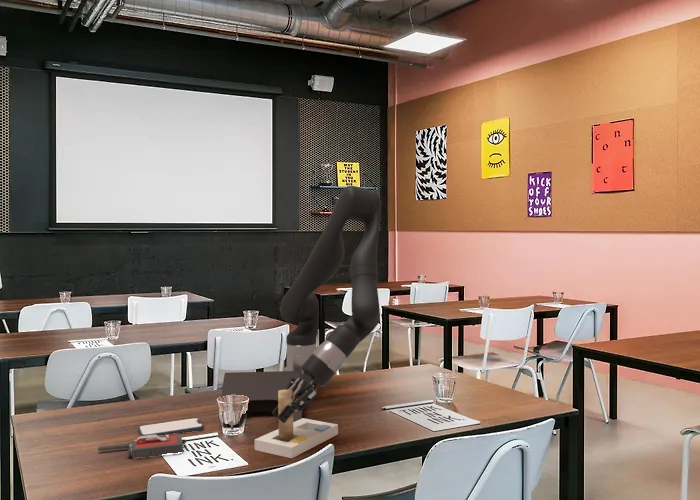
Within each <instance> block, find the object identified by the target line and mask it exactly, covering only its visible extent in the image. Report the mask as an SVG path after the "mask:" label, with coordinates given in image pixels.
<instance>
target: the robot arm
mask: <svg viewBox="0 0 700 500" xmlns="http://www.w3.org/2000/svg"><path fill="white" fill-rule="evenodd" d="M381 215H382V201H381V196H380V195H379V193H378V192H376V191H375V190H371V189H367V188H364V187H358V186H356V185H355V186H354V185H347V186H346V187H345V188H343V190H342V191H341V193H340V194H339V196H338V198H337V200H336V203H335V205H334V207H333V210H332V212H331V215H330V216H329V218H328V221H327V223H326V225H325V227H324V230H323V231H322V233H321V235H320V237H319V238H318V240H317V242H316V244H314V246H313V249H312V250H311V251H310V252H311V253H310V254H309V256H308V258H307V260H306V262H305V264H304V265H303V267H302V269H301V271H300V273H299V274H298V276H297V277H296V279H295V280H294V282H293V283H292V284H291V286H290V287H289V288H288V289H287V292H286V293H285V294H284V296H283V297H282V300H281V303H280V307H279V311H280V312H279V313H280V316H281V318H282V319H283V320H284V321H285V322H287V323H294V324H295V323H298V325H297V326H296V328H295V329H294V330H292V331H291V332H289V333H287V335H286V366H285V367H284V369H283V371H302V375H301V376H300V377H299V378H298V379H295V378H294V377H293V378H291V380H290V381H289V383H288V385H287V386H286V388H285V389H284V390H292V391H293V395H292V396H293V398H292V399H291V401H290V402H289V404H288V405H289V406H288V405H287V406H286V407H285V408H284V409H283V410H282V412H281V413H280V414H279V415H278V406H277V407H276V408H275V409H274V410H273V412H272V411H271V414H272V416H274V417H275V418H277V419H278V421H279V420H280V421H281V422H283V423H285V422H286V421H287V420H288V418H289V417H290V416H291V415H292V414H293V412H294V411H295V412H296V411H297V410H299V411H301V410H302V411H303V410H304V409H305V408H306V407H308V406H309V404H311V403H312V402H313V401H315V400H316V398H318V396H319V394H318V393H317V389H318V386H320V387H322V388H324V387H326V386H327V384H328V383H329V382H330V381H331V379H333V377H334V376H335V375H336V373H338V371H339V370H340V368H341V367H342V366H343V365H344V363H345V361H346V360H347V358H348V357H350V355H351V353H353V351H354V350H355V349H356V348H357V346H358V345H359V344H360V343H361V342H362V341H363V340H364V339H365V338H367V337H368V336H369V335H371V333H372V332H373V331H374V330H375V328H376V327H377V326H378V324H379V322H380V321H381V320H380V319H381V309H380V301H379V292H378V287H379V278H378V277H379V275H378V274H379V273H378V247H379V246H378V244H379V235H380V226H381V225H380V224H381ZM349 220H350V221H355V222H360V223H363V227H364V233H363V236H362V239H361V240H360V242H359V244H358V245H357V247H356V249H355V250H354V252H353V253H352V256H351V261H350V281H351V282H350V284H351V315H350V316H349V318H348V319H346V321H344V323H343V324H339V325H337V326H336V327H335V328H334V329H333V330H332V331H331V333H330V334H329V335H328V336H327V337H326V338H325V340H324V341H322V343H321V344H319V345H318V346H317V337H318V334H319V319H320V306H319V300H318V297H317V296H316V294H315V293H314V292H315V291H316V290H318V288H320V287H321V286H323V285H324V284H325V283H327V282H328V281H329V280H330V279H332V278H333V277H334V276H335V274H336V273H337V271H338V270H339V268H340V266H341V265H342V263H343V261H344V259H345V253H346V252H345V245H344V244H345V243H344V238H343V230H344V227H345V225H346V223H347V222H348V221H349Z"/></svg>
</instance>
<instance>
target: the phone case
mask: <svg viewBox="0 0 700 500" xmlns="http://www.w3.org/2000/svg"><path fill="white" fill-rule="evenodd" d="M201 430H203V431H204V430H205V425H204V424H203V422H202V420H200V418H196V417H195V418H188V419H186V418H185V419H179V420H174V421H166V422H161V423H154V424H153V423H151V424H146V425H140V426H138V427H137V432H138V431H139V433H138V435H139V434H140V435H139V436H147V435H155V434H156V435H158V436H159V435H165V434H173V433H183V432H192V431H199V432H202V431H201ZM192 433H193V432H192Z"/></svg>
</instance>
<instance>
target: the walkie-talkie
mask: <svg viewBox="0 0 700 500" xmlns="http://www.w3.org/2000/svg"><path fill="white" fill-rule="evenodd" d="M186 441H187V439H183V437H182V435H178V436H177V435H174V436H169V435H166V436H163V437H160V436H158V435H156V434H155V435H147V436H140V435H139V436H138V437H137V438H136V439H133V440H132V441H131V442H128V443H120V444H111V445H103V446H102V445H101V446H98V448H97V450H98V452H102V451H103V452H104V451H114V450H123V449H127V450H128V454H127V456H128V458H131V459H132V458H137V457H149V456H159V455H162V454H167V453H178V452H182V451H183V452H184V450H183V448H184V447H183V445H185V444H186V443H187V442H186Z"/></svg>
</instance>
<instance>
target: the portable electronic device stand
mask: <svg viewBox="0 0 700 500" xmlns="http://www.w3.org/2000/svg"><path fill="white" fill-rule="evenodd" d="M301 375H302V371H284V370H283V371H282V370H281V371H280V370H279V371H278V370H276V371H243V372H242V371H240V372H239V371H238V372H236V371H235V372H232V371H231V372H224V375H223V376H224V377H223V382H222V389H221V398H222V397H223V396H226V395H231V394H236V395H244V396H247V397H248V398H249V403H248V413H247V414H251V413H256V412H271V413H272V412H273V410H274V409H275V408H276V407H277V406H278V391H280V390H284V389H285V388H286V386H287V385H288V383H289V381H290V380H291V378H293V377H294V378H295V379H298V378H299V377H300V376H301ZM302 415H303V410H301V411H299V410H297V411H296V412H295V411H294V412H293V422H295V421H298V420H300V419H302V418H303V417H302Z"/></svg>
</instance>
